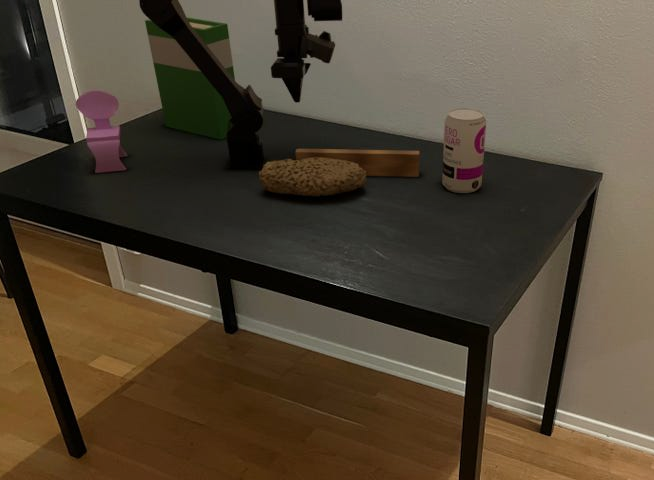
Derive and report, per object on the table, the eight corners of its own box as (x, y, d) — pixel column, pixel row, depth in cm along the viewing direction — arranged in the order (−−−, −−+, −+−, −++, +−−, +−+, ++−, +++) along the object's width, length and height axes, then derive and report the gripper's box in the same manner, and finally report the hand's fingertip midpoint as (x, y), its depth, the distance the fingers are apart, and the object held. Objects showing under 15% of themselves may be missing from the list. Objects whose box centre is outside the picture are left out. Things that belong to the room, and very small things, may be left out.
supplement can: (486, 182, 149) (492, 110, 140) (472, 197, 143) (477, 123, 134) (451, 175, 152) (454, 104, 143) (436, 189, 146) (438, 116, 137)
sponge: (259, 204, 142) (348, 199, 135) (251, 164, 139) (341, 157, 132) (292, 191, 153) (375, 186, 146) (285, 154, 150) (370, 147, 143)
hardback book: (166, 126, 174) (144, 20, 160) (187, 117, 179) (168, 14, 165) (221, 139, 168) (204, 30, 153) (241, 130, 173) (227, 23, 158)
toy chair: (90, 174, 150) (70, 102, 141) (92, 159, 157) (73, 89, 148) (131, 170, 152) (114, 99, 143) (132, 155, 159) (116, 86, 150)
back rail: (297, 174, 151) (295, 151, 148) (298, 171, 153) (296, 148, 150) (418, 177, 151) (419, 154, 148) (419, 173, 153) (419, 150, 150)
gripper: (325, 33, 133) (330, 117, 142) (336, 12, 148) (339, 89, 157) (266, 32, 133) (275, 116, 142) (282, 11, 148) (289, 88, 157)
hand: (297, 101), depth 150 cm, fingers closed
